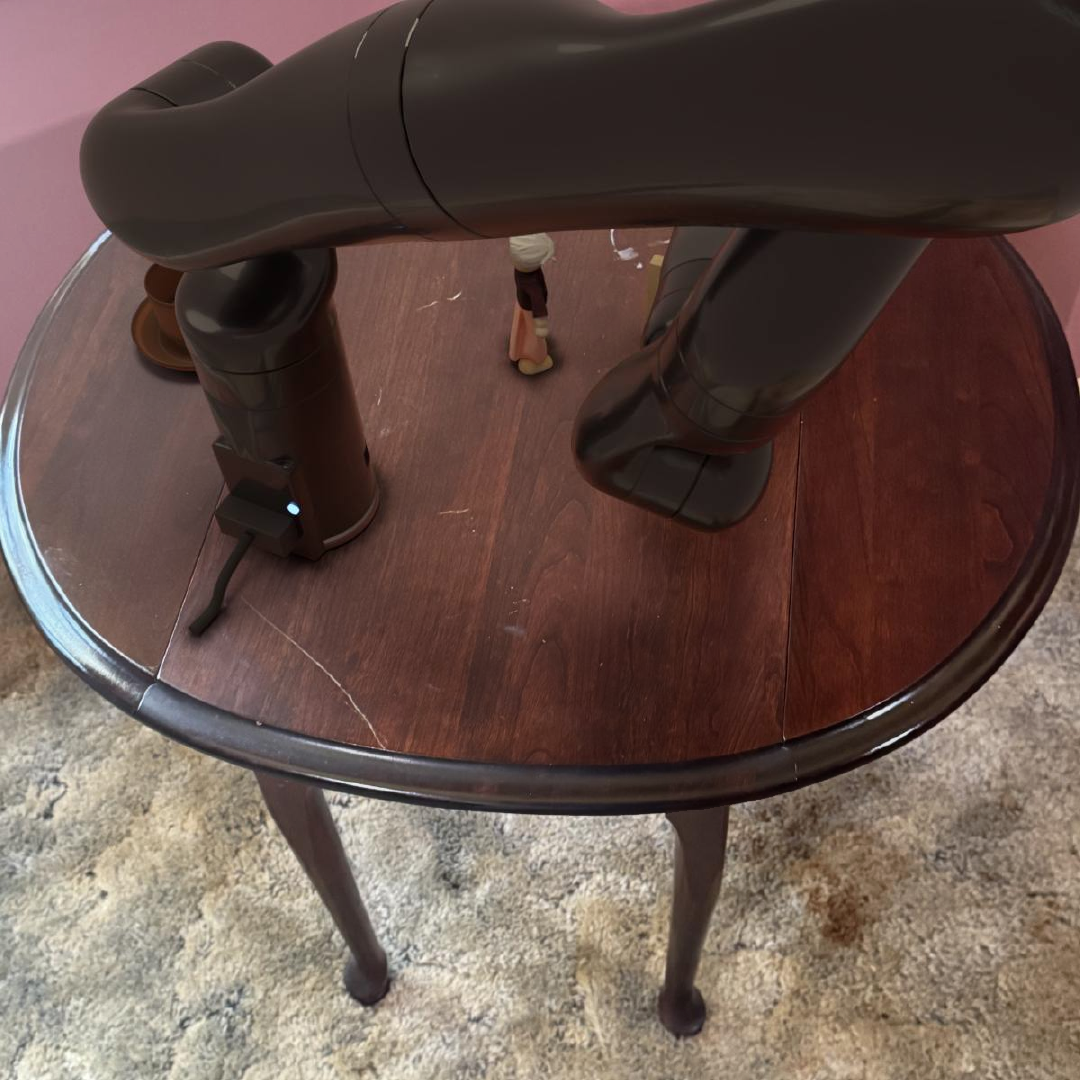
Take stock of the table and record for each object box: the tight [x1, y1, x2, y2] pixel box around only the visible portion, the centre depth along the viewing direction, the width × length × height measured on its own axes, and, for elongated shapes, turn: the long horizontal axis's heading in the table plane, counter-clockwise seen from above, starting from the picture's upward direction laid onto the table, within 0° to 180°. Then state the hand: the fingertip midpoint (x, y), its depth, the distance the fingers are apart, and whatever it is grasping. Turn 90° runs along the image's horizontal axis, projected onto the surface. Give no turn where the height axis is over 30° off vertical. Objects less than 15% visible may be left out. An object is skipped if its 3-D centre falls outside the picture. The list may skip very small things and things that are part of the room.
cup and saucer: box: [130, 262, 196, 372], centre depth 90 cm, size 12×12×6 cm
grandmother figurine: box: [508, 233, 555, 375], centre depth 85 cm, size 8×4×13 cm, turn 21°
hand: (769, 114), depth 78 cm, fingers closed on supplement bottle, 5 cm apart
